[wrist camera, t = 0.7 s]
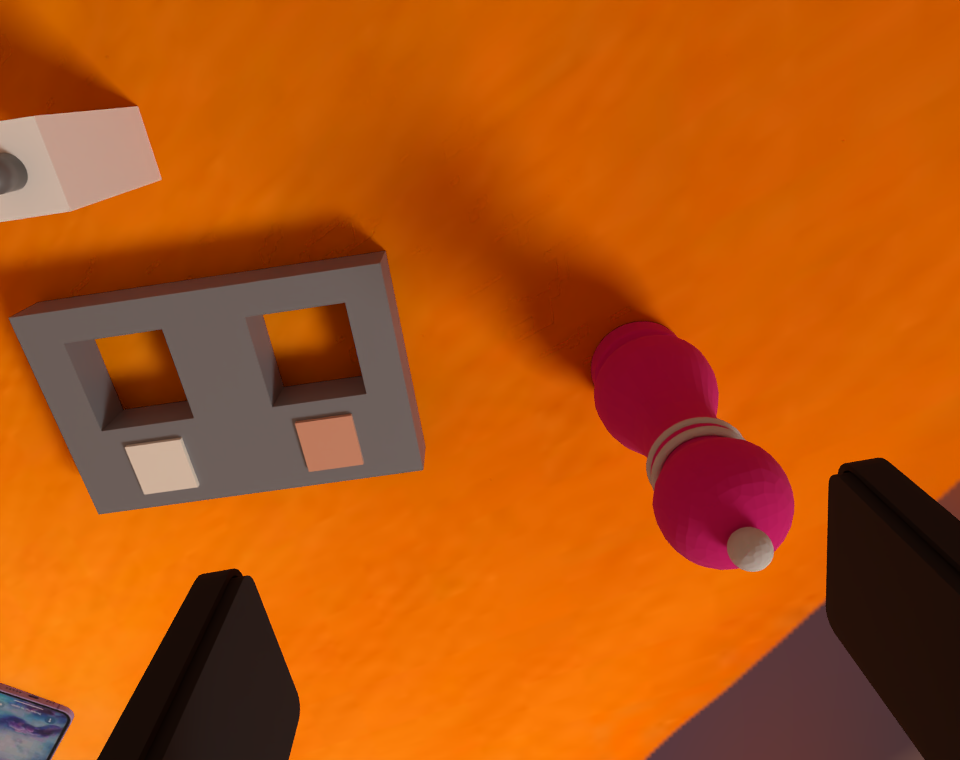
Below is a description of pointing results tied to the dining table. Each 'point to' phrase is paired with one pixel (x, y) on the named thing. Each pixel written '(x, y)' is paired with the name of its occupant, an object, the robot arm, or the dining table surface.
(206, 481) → the socket board
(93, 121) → the plug
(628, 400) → the pepper mill
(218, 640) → the robot arm
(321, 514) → the dining table surface
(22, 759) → the smartphone
